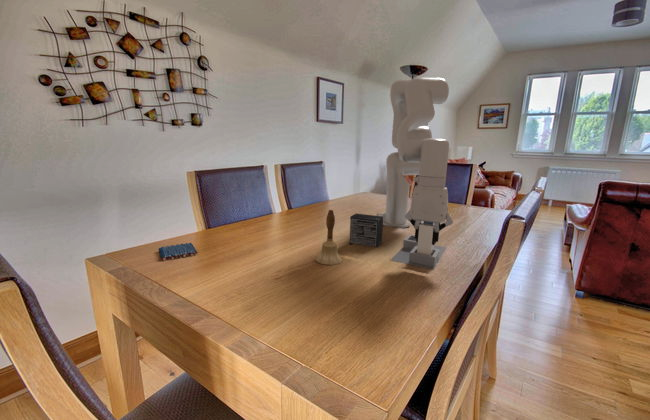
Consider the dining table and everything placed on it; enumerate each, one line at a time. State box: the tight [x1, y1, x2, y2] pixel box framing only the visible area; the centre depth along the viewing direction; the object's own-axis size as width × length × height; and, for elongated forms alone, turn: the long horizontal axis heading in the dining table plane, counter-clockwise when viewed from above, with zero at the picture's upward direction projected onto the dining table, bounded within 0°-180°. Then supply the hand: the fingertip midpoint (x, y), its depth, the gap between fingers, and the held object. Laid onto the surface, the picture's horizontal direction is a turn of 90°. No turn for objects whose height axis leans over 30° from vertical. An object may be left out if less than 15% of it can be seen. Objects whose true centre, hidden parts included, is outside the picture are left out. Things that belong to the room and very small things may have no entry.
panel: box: [390, 233, 447, 270], centre depth 102 cm, size 13×22×4 cm, turn 150°
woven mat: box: [158, 242, 198, 262], centre depth 101 cm, size 10×11×2 cm
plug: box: [417, 221, 435, 255], centre depth 95 cm, size 4×4×10 cm
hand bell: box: [315, 209, 343, 266], centre depth 96 cm, size 8×8×16 cm
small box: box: [348, 213, 384, 248], centre depth 112 cm, size 11×6×10 cm, turn 65°
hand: (426, 241), depth 95 cm, fingers closed on plug, 4 cm apart
